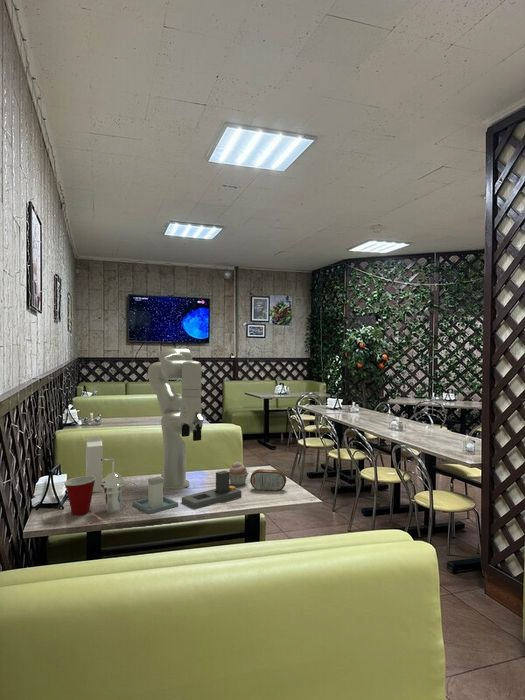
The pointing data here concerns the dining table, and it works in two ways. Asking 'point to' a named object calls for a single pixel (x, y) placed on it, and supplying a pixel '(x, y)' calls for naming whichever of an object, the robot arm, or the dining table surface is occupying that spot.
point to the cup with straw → (112, 489)
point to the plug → (155, 492)
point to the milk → (95, 461)
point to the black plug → (222, 482)
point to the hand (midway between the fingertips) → (191, 438)
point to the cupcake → (237, 474)
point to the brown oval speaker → (268, 480)
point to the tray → (144, 507)
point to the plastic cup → (80, 493)
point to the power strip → (210, 497)
